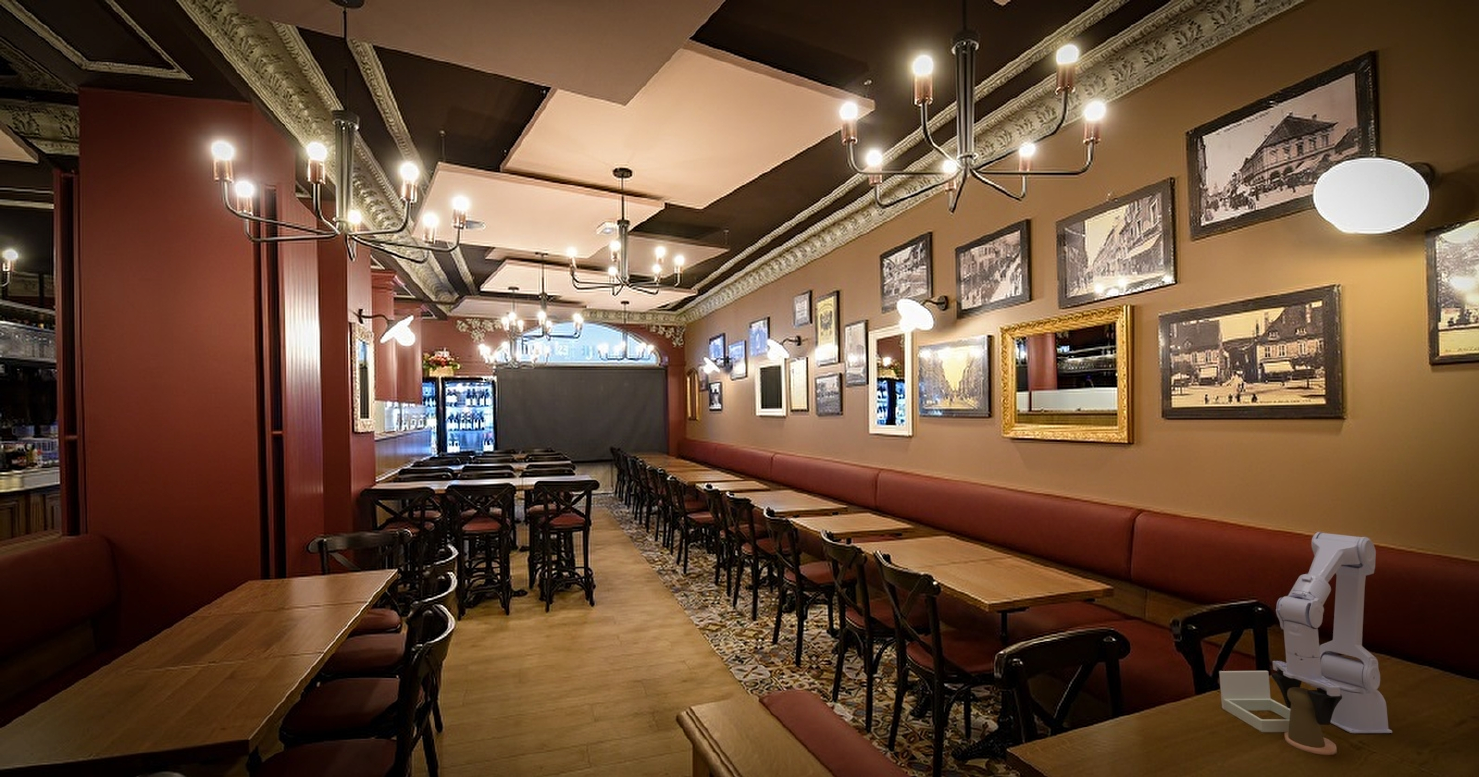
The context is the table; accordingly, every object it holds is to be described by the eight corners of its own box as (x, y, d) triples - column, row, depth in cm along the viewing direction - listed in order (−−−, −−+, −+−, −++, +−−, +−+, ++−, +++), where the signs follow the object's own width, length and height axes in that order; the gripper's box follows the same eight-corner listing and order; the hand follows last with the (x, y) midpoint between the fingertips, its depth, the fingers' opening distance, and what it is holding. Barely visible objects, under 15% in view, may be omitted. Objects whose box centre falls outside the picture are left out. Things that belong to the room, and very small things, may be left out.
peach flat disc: (1312, 734, 138) (1312, 730, 138) (1348, 754, 130) (1347, 749, 130) (1274, 735, 139) (1274, 730, 139) (1307, 754, 130) (1307, 749, 130)
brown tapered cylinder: (1332, 748, 131) (1328, 695, 131) (1300, 746, 132) (1296, 694, 133) (1312, 734, 137) (1307, 684, 137) (1281, 732, 138) (1277, 682, 138)
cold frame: (1269, 707, 152) (1266, 670, 153) (1313, 731, 140) (1310, 691, 140) (1222, 707, 152) (1219, 671, 153) (1262, 731, 140) (1258, 691, 141)
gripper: (1257, 641, 143) (1262, 701, 142) (1313, 665, 129) (1319, 731, 128) (1288, 641, 143) (1293, 700, 142) (1347, 665, 128) (1353, 731, 127)
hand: (1307, 715), depth 135 cm, fingers open, 7 cm apart
